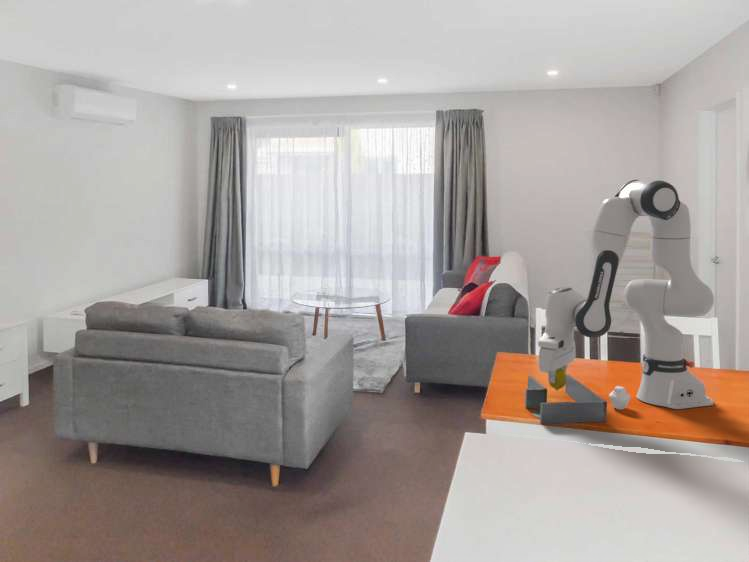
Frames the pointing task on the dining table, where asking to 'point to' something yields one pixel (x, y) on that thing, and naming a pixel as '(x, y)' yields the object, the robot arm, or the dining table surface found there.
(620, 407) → the white rounded piece
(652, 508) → the dining table surface
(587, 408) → the rail corridor
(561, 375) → the lemon
